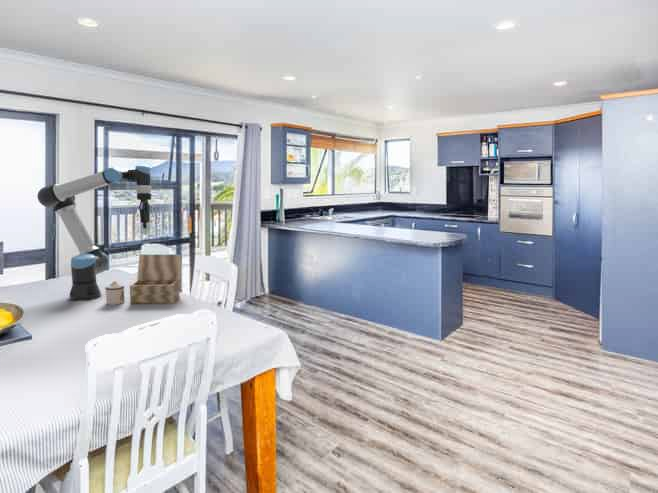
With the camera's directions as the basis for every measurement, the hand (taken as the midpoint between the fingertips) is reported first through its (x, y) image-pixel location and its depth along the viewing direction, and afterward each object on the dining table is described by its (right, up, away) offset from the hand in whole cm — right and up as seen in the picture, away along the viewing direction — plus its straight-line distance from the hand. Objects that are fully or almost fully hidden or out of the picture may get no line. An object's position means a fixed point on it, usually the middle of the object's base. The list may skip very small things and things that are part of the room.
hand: (145, 233), depth 248 cm
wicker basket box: (+12, -37, -14) cm, 41 cm away
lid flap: (+11, -19, -7) cm, 23 cm away
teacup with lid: (-8, -37, -19) cm, 43 cm away
